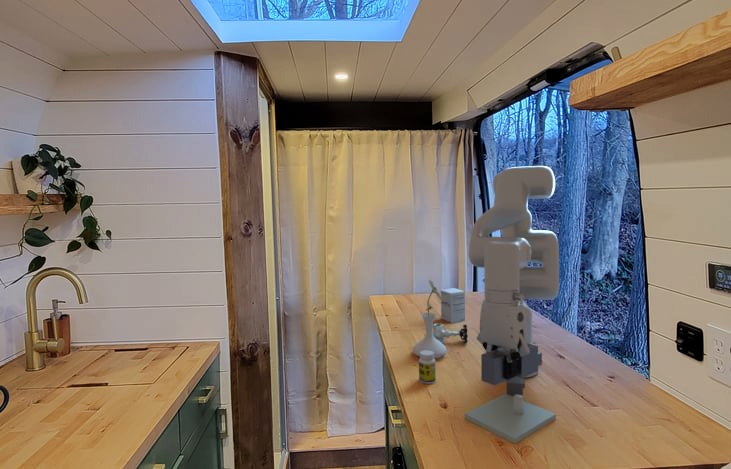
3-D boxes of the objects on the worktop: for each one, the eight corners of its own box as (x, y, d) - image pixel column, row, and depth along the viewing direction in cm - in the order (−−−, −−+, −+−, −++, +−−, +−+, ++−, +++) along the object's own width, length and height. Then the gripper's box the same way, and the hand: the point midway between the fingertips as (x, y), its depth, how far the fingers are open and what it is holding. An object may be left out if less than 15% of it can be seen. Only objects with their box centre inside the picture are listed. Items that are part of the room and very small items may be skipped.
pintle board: (512, 391, 119) (512, 369, 119) (565, 413, 107) (565, 388, 107) (461, 416, 107) (461, 392, 107) (514, 443, 95) (514, 416, 95)
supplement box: (440, 319, 187) (440, 289, 186) (455, 316, 190) (454, 287, 189) (451, 323, 180) (450, 293, 179) (465, 320, 183) (465, 290, 182)
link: (524, 359, 111) (524, 336, 111) (548, 366, 106) (548, 342, 106) (476, 378, 100) (476, 352, 100) (499, 387, 95) (499, 360, 95)
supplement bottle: (416, 381, 128) (415, 353, 127) (424, 375, 132) (423, 348, 131) (430, 385, 125) (429, 356, 124) (438, 379, 129) (438, 351, 128)
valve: (433, 345, 156) (467, 346, 155) (432, 327, 156) (467, 327, 154) (432, 339, 163) (465, 339, 161) (432, 321, 162) (465, 321, 161)
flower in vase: (443, 363, 140) (441, 286, 138) (408, 359, 144) (406, 284, 142) (451, 349, 152) (449, 277, 150) (418, 345, 156) (416, 276, 154)
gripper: (545, 299, 95) (544, 382, 96) (483, 288, 108) (483, 361, 110) (524, 305, 90) (524, 392, 92) (462, 292, 104) (463, 368, 105)
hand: (502, 374), depth 101 cm, fingers closed on link, 3 cm apart
